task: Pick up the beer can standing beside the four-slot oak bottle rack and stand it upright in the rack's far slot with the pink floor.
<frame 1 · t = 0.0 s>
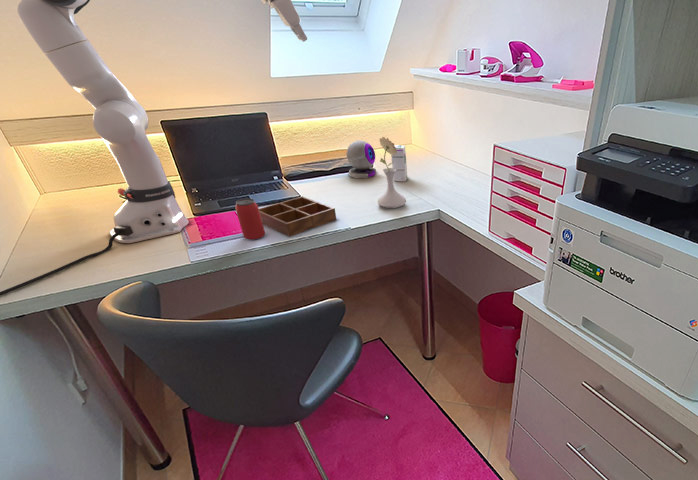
hand: (303, 39, 133), 54 cm above the table, tool tilted 30°, fingers open, 8 cm apart
syrup box: (400, 179, 195), on the table
webcam: (362, 174, 201), on the table
beer can: (255, 237, 140), on the table
flower in vase: (391, 205, 168), on the table
rack: (297, 221, 152), on the table
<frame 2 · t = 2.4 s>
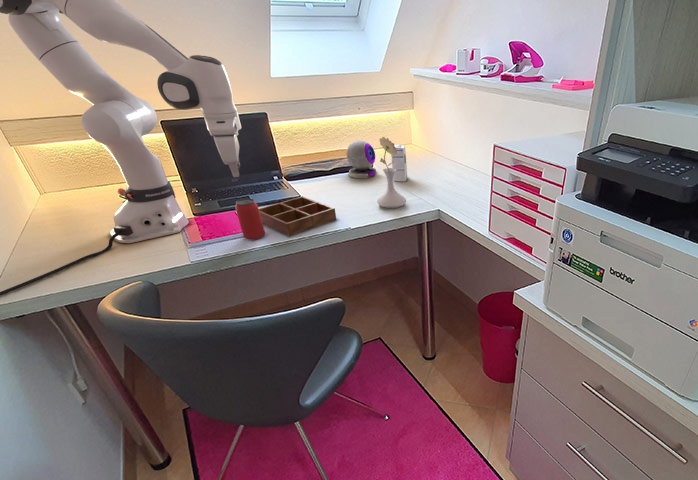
hand: (237, 172, 128), 21 cm above the table, tool pointing down, fingers open, 8 cm apart
nothing on the table moved.
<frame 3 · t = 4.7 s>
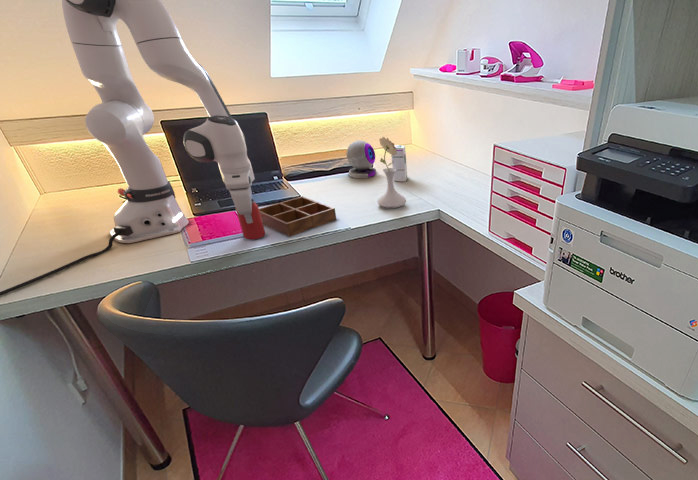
hand: (250, 218, 137), 6 cm above the table, tool pointing down, fingers closed on beer can, 6 cm apart
beer can: (255, 237, 140), on the table, touching gripper
everything else where it was.
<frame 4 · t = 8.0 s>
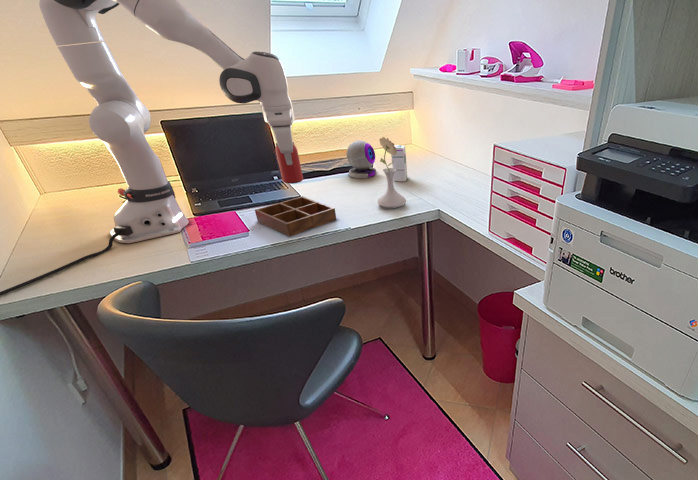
hand: (289, 161, 137), 22 cm above the table, tool pointing down, fingers closed on beer can, 6 cm apart
beer can: (293, 181, 141), point 15 cm above the table, touching gripper
everything else where it was.
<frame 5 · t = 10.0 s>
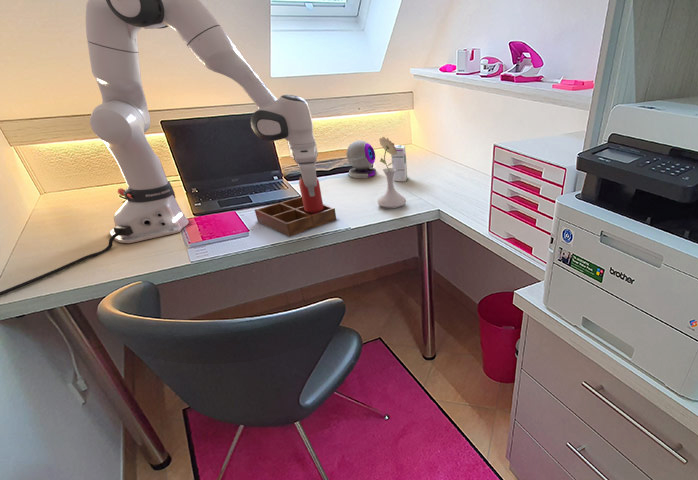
hand: (311, 192, 147), 10 cm above the table, tool pointing down, fingers closed on beer can, 6 cm apart
beer can: (314, 210, 151), point 4 cm above the table, touching gripper
everything else where it was.
when the fingers open (7 cm above the table, at t = 11.5 s): beer can stays where it is, resting on rack.
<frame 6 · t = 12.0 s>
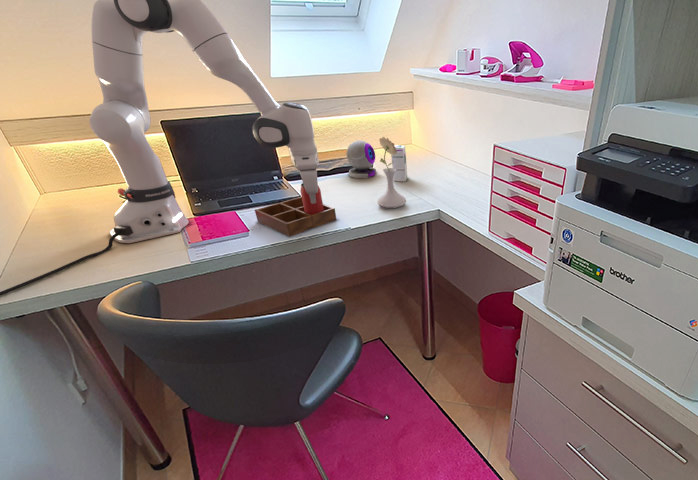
hand: (312, 198, 148), 8 cm above the table, tool pointing down, fingers open, 8 cm apart
beer can: (315, 217, 152), point 1 cm above the table, touching rack
everything else where it was.
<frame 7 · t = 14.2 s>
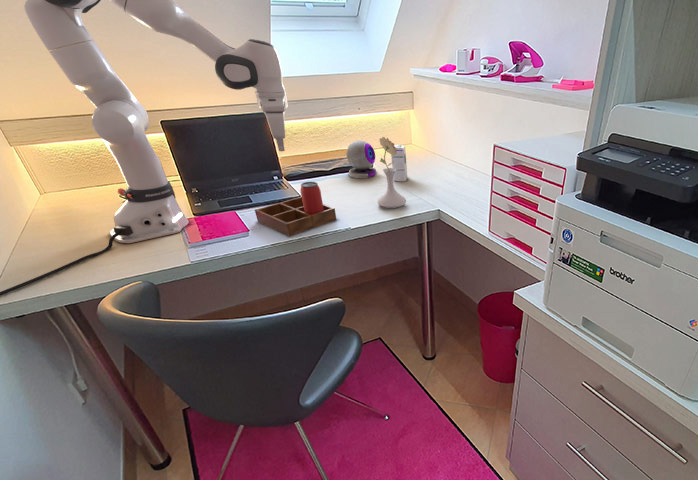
hand: (281, 147, 141), 24 cm above the table, tool pointing down, fingers open, 8 cm apart
nothing on the table moved.
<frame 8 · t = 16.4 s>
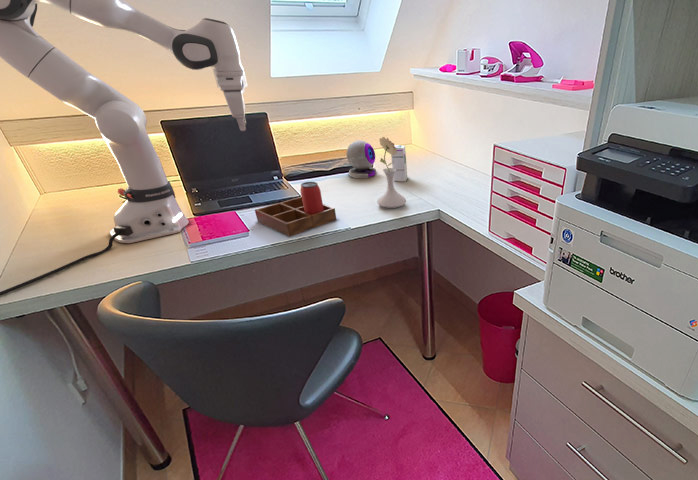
hand: (243, 127, 143), 29 cm above the table, tool pointing down, fingers open, 8 cm apart
nothing on the table moved.
at the end: beer can 0.2 cm from the target spot in the rack, point 1.0 cm above the rack's base; beer can tilted 0°; the gripper is holding nothing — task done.
